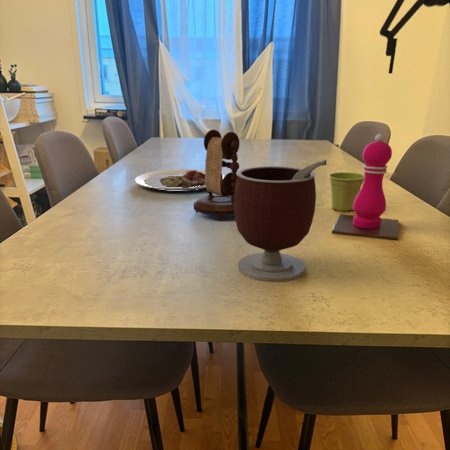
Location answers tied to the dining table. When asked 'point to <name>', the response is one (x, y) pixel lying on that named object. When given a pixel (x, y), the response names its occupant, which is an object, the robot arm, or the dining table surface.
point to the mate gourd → (274, 218)
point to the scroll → (219, 174)
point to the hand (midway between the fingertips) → (423, 73)
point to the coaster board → (383, 232)
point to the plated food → (177, 179)
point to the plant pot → (345, 189)
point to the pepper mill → (372, 185)
